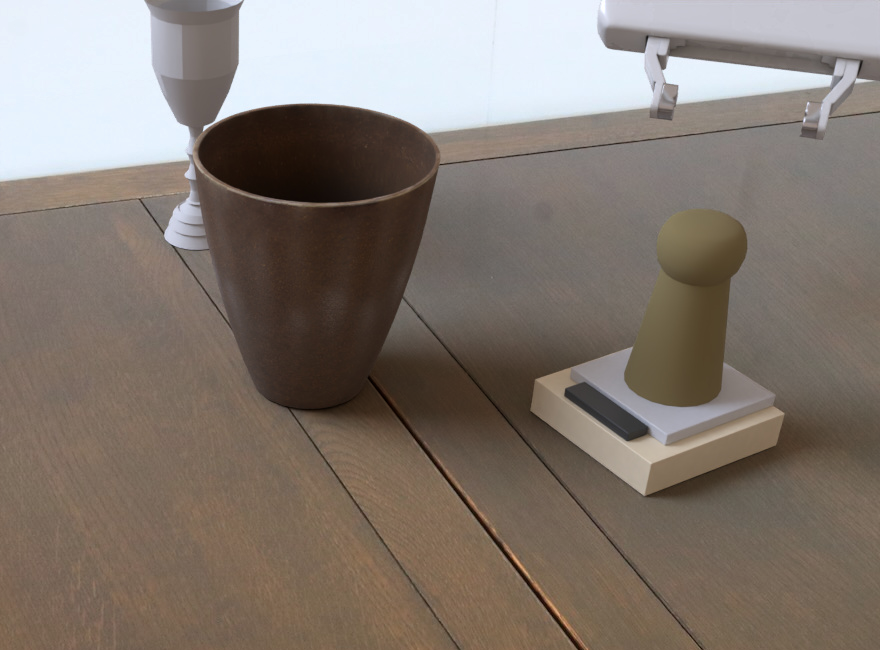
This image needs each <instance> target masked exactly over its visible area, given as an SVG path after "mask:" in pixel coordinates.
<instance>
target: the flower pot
mask: <svg viewBox="0 0 880 650" xmlns="http://www.w3.org/2000/svg"><path fill="white" fill-rule="evenodd" d="M192 153H193V161H194V168H195V175H196V182H197V189H198V195H199V201H200V207H201V213H202V219H203V224H204V228H205V233H206V238H207V243H208V247H209V249H208V251H209V255H210V259H211V264H212V268H213V271H214V275H215V279H216V282H217V285H218V290H219V293H220V296H221V300H222V304H223V307H224V310H225V313H226V316H227V318H228V319H227V320H228V322H229V324H230V329H231V330H232V334H233V336H234V339H235V342H236V344H237V347H238V349H239V352H240V355H241V357H242V360H243V362H244V365H245V368H246V369H247V371H248V374H249V376H250V378H251V381H252V383H253V384H254V387H255V389H256V391H258V392H259V394H260V395H262V396H263V397H265V398H266V399H267V400H269V401H271V402H273V403H276V404H279V405H281V406H284V407H289V408H295V409H302V410H303V409H305V410H316V409H317V410H318V409H319V410H321V409H326V408H332V407H334V406H339V405H342V404H344V403H346V402H349V401H350V400H352V399H354V398H355V397H356V396H357V395H358V394H360V392H361V391H362V389H363V387H364V385H365V383H366V382H367V381H368V378H369V376H370V374H371V372H372V370H373V367H374V366H375V364H376V361H377V359H378V357H379V355H380V354H381V351H382V349H383V346H384V344H385V342H386V340H387V337H388V335H389V333H390V330H391V328H392V327H393V326H392V325H393V323H394V321H395V318H396V316H397V313H398V311H399V308H400V305H401V303H402V299H403V297H404V294H405V292H406V289H407V286H408V283H409V280H410V277H411V274H412V271H413V268H414V265H415V262H416V259H417V257H418V252H419V249H420V245H421V242H422V238H423V235H424V231H425V227H426V224H427V220H428V216H429V211H430V208H431V203H432V199H433V193H434V191H435V190H434V189H435V185H436V181H437V177H438V172H439V168H440V164H441V151H440V149H439V146H438V144H437V143H436V142H435V140H434V138H433V137H431V136H430V135H429V134H428V133H427V132H426V131H424V130H423V129H421V128H420V127H418V126H416V125H414V124H413V123H411V122H409V121H408V120H404V119H402V118H399V117H397V116H394V115H392V114H388V113H385V112H381V111H377V110H373V109H369V108H364V107H360V106H359V107H358V106H352V105H345V104H335V103H318V102H317V103H315V102H314V103H312V102H311V103H287V104H285V103H284V104H277V105H269V106H262V107H258V108H253V109H252V108H251V109H248V110H244V111H241V112H237V113H234V114H231V115H229V116H227V117H225V118H222V119H220V120H218V121H216V122H215V123H214V122H213V123H212V124H210V125H209V126H208V127H207V128H206V129H203V132H202V133H201V134H200V136H199V137H198V138H197V140H196V141H195V144H194V146H193V151H192Z"/></svg>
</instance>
